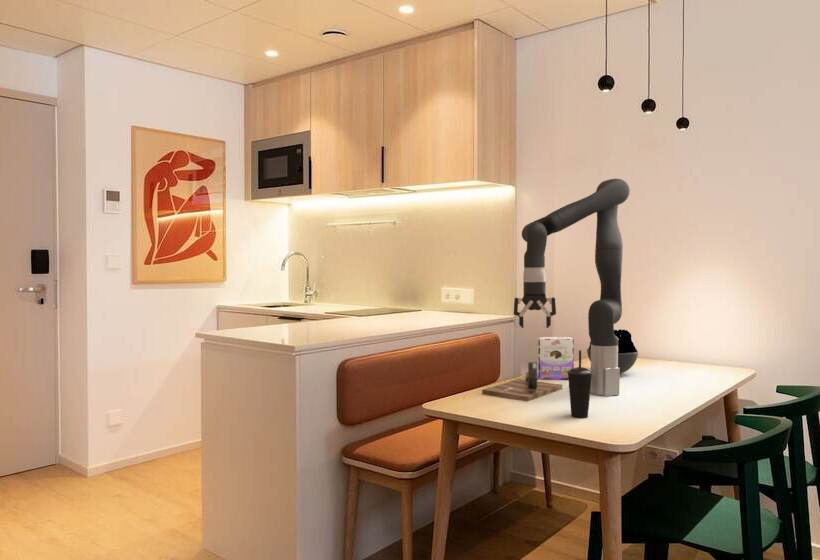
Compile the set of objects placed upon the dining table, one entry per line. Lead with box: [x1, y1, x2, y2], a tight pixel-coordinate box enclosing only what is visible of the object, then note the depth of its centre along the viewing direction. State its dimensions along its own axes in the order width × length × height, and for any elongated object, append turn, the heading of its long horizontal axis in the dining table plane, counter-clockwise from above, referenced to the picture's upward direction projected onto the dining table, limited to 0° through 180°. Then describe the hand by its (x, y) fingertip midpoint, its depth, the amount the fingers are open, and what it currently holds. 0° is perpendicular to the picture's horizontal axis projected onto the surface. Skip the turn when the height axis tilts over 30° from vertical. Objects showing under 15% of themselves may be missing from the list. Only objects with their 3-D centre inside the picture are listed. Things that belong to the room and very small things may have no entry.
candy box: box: [536, 336, 575, 381], centre depth 254 cm, size 14×6×16 cm, turn 84°
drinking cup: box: [567, 350, 593, 419], centre depth 194 cm, size 8×8×20 cm
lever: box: [525, 361, 538, 392], centre depth 230 cm, size 22×4×10 cm, turn 171°
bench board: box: [481, 378, 563, 402], centre depth 230 cm, size 26×18×2 cm
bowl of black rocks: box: [586, 328, 639, 375], centre depth 263 cm, size 20×20×19 cm
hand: (534, 327), depth 221 cm, fingers open, 8 cm apart
